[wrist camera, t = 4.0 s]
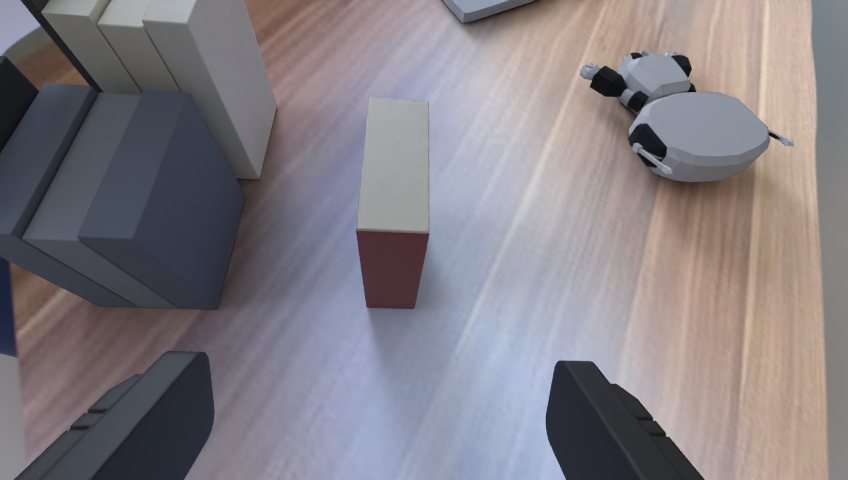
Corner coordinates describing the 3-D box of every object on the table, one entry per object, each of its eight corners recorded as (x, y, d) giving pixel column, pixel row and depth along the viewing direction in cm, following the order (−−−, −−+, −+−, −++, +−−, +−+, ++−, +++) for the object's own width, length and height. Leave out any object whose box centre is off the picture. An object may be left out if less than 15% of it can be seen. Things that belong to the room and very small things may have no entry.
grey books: (88, 306, 26) (-119, 205, 15) (136, 190, 30) (-1, 48, 19) (217, 310, 26) (104, 215, 16) (246, 195, 31) (172, 60, 20)
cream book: (366, 308, 27) (355, 230, 18) (374, 207, 31) (368, 96, 21) (414, 310, 27) (429, 233, 18) (415, 209, 31) (429, 100, 22)
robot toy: (560, 91, 40) (646, 209, 33) (578, 49, 36) (679, 172, 29) (662, 74, 43) (763, 180, 35) (689, 33, 39) (808, 142, 31)
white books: (161, 175, 31) (11, -10, 18) (190, 99, 34) (81, -97, 22) (259, 180, 31) (177, 3, 19) (277, 105, 35) (218, -84, 23)
